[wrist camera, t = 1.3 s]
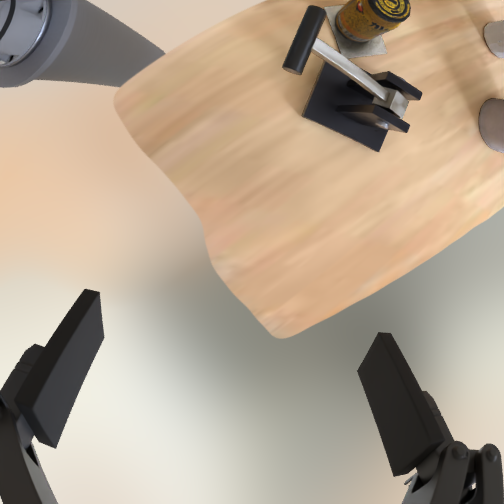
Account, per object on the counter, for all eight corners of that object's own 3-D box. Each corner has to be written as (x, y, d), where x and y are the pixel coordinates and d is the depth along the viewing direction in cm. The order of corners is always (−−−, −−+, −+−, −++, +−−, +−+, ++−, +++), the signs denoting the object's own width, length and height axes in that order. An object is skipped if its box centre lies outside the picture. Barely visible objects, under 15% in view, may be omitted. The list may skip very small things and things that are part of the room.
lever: (274, 66, 21) (293, 68, 19) (300, 6, 18) (321, 4, 17) (379, 127, 30) (396, 134, 28) (397, 82, 27) (414, 87, 26)
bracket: (301, 116, 39) (328, 118, 26) (326, 54, 35) (363, 32, 22) (375, 151, 41) (424, 170, 28) (399, 93, 37) (454, 92, 24)
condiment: (368, 3, 31) (405, -23, 20) (386, 53, 34) (430, 41, 23) (323, 7, 31) (350, -24, 21) (342, 59, 35) (376, 44, 24)
